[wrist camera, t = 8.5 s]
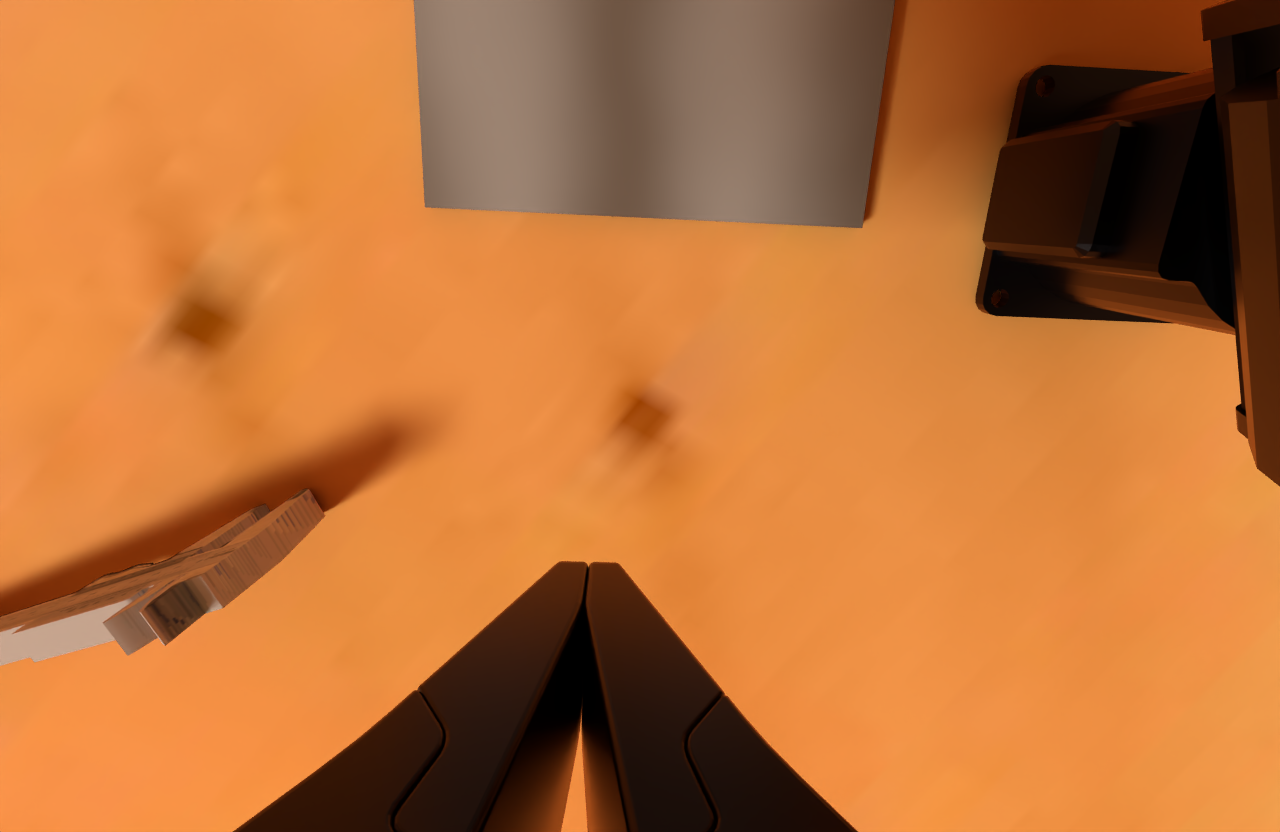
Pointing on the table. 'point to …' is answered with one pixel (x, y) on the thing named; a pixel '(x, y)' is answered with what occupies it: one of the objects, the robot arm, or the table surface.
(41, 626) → the caliper
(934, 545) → the table surface
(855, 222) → the subfloor panel
